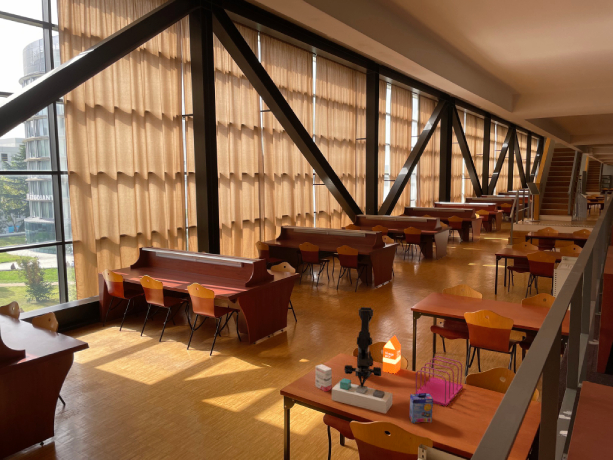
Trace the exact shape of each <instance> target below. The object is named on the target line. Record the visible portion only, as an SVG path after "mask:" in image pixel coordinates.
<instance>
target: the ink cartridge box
mask: <svg viewBox="0 0 613 460" xmlns="http://www.w3.org/2000/svg"><path fill="white" fill-rule="evenodd" d="M409 397H410V398H409V419H410V422H411V423H412V424H416V423H415V422H430V423H432V422H433V410H434V409H433V408H434V406H433V405H434V403H433V398H432V397H431V395H430V394H426V393H419V394H415V393H410V396H409Z"/></svg>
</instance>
